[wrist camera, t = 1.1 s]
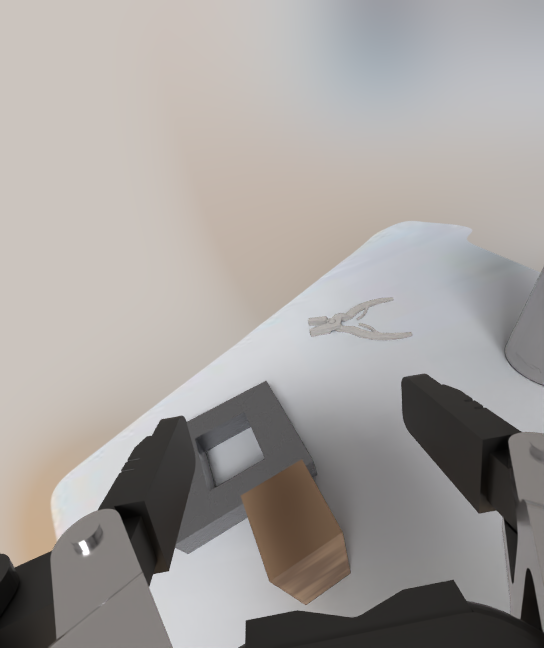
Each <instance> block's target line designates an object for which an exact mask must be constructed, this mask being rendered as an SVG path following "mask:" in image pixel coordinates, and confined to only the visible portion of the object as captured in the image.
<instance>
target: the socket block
mask: <svg viewBox="0 0 544 648" xmlns="http://www.w3.org/2000/svg"><path fill="white" fill-rule="evenodd" d="M187 426H188V430H189V433H190V437H191V441H192V444H193V448H194V452H195V459H196V465H195V472H194V476H193V480H192V484H191V488H190V491H189V495H188V499H187V503H186V507H185V511H184V514H183V518H182V522H181V526H180V530H179V534H178V538H177V541H176V545H175V548H177V549H179V550H181V551H183V552H185V553H187V554H189V553H191V552H192V551H194V550H195V549H197V548H199V547H200V546H202V545H204V544H205V543H207V542H208V541H210V540H212V539H213V538H215V537H217V536H218V535H220V534H221V533H223V532H225V531H226V530H228V529H229V528H231V527H233V526H234V525H236V524H238V523H239V522H241V521H242V520H244V519H246V518H247V517H248V516H247V513H246V510H245V507H244V504H243V502H242V499H241V495H243V494H244V493H246V492H248V491H249V490H251V489H253V488H254V487H256V486H258V485H260V484H261V483H263V482H265V481H266V480H268V479H270V478H271V477H273V476H275V475H276V474H278V473H280V472H281V471H283V470H285V469H286V468H288V467H290V466H291V465H293V464H295V463H296V462H298V461H300V460H301V459H302V460H303V462H304V464H305V466H306V467H307V469H308V471H309V473H310V475H311V476H312V477H314V476H315V475H317V472H316V469H315V465H314V462H313V460H312V458H311V456H310V455H309V453H308V451H307V449H306V448H305V446H304V444H303V443H302V441H301V439H300V438H299V436H298V434H297V432H296V431H295V429H294V427H293V426H292V424H291V422H290V421H289V419H288V417H287V415H286V414H285V412H284V410H283V409H282V407H281V405H280V403H279V402H278V400H277V398H276V397H275V395H274V393H273V392H272V390H271V388H270V386H269V385H268V383H267V381H265V382H263V383H261V384H259V385H257V386H255V387H253V388H251V389H249V390H247V391H245V392H244V393H242V394H240V395H238V396H236V397H234V398H232V399H230V400H228V401H226V402H224V403H222V404H220V405H219V406H217V407H215V408H213V409H211V410H209V411H207V412H205V413H203V414H201V415H199V416H197V417H196V418H194V419H192V420H190V421H188V422H187ZM249 427H251V428H252V430H253V432H254V435H255V437H256V439H257V441H258V443H259V446H260V448H261V450H262V452H263V455H264V457H265V459H264V460H262V461H261V462H259V463H257V464H255V465H254V466H252V467H250V468H249V469H247V470H245V471H243V472H242V473H240V474H238V475H237V476H235V477H233V478H231V479H230V480H228V481H226V482H224V483H223V484H221V485H219V486H218V487H215V484H214V480H213V477H212V473H211V469H210V466H209V462H208V459H207V455H206V451H207V450H209V449H211V448H213V447H215V446H216V445H218V444H220V443H222V442H224V441H226V440H227V439H229V438H231V437H233V436H235V435H236V434H238V433H240V432H242V431H244V430H246V429H247V428H249Z"/></svg>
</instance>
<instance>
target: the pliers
mask: <svg viewBox="0 0 544 648" xmlns="http://www.w3.org/2000/svg"><path fill="white" fill-rule="evenodd" d="M389 301H393V297H390V298H380V299H374V300H370V301H367V302H364V303H361V304H359V305H357V306H355V307H353V308H352V309H350V310H349V311H348V312H347V313H346V314H345V313H338V314H335V315H334V316H333V317H332V318H330V319H328V318H327V317H326V316H324V317H315V318H309V320H308V322H309V326H318V327H315V328H312V329H310V335H311V337H314V336H319V335H324V334H330V332H331V331H332V330H335V331H337V332H346V333H350V334H353V335H355V336H358V337H361V338H365V339H371V340H396V339H402V338H407V337H410V336H412V332H406V333H380V332H378V331H376V330H375V329H374V328H372V327H371V326H369V325H366V324H362V323H359V326H362V327H366V328H368V329H370V330H371V331H372V332H369V331H366V330H363V329H360V328H357V327H355V326H343V325H342V324H341V320H342V321H347V320H350V319H352V318H353V317H354V316H355V315H357V314H358V313H359V312H360V311H362V310H364V309H365V311H364V313H363V314H362V315H361V316H359V317H358V318H357V320H359V319H361V318H362V317H364V316H365V314H366V313H367V310H368V308H369V307H371V306H374V305H377V304H381V303H385V302H389Z"/></svg>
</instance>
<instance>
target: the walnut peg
mask: <svg viewBox="0 0 544 648" xmlns="http://www.w3.org/2000/svg"><path fill="white" fill-rule="evenodd" d="M241 499H242V502H243V504H244V507H245V510H246V513H247V516H248V519H249V522H250V525H251V528H252V531H253V534H254V537H255V540H256V543H257V546H258V549H259V552H260V555H261V558H262V561H263V564H264V567H265V570H266V572H267V575H268V578H269V581H270V582H271V583H273V584H274V585H276V586H277V587H279V588H280V589H282V590H283V591H285V592H286V593H288V594H289V595H291V596H293V597H294V598H296V599H297V600H299V601H300V602H302V603H303V604H305V605H307V604H308V603H310V602H311V601H312V600H314V599H315V598H317V597H318V596H319V595H321V594H322V593H324V592H325V591H326V590H328V589H329V588H331V587H332V586H333V585H335V584H336V583H338V582H339V581H340V580H342V579H343V578H345V577H346V576H347V575H349V574H350V568H349V563H348V557H347V552H346V547H345V542H344V537H343V532H342V530H341V528H340V527H339V525H338V523H337V521H336V519H335V518H334V516H333V514H332V512H331V510H330V509H329V507H328V505H327V503H326V501H325V500H324V498H323V496H322V494H321V492H320V491H319V489H318V487H317V485H316V483H315V482H314V480H313V478H312V476H311V475H310V473H309V471H308V469H307V467H306V466H305V464H304V462H303V460H302V459H301V460H300V461H298V462H296V463H295V464H293V465H291V466H290V467H288V468H286V469H285V470H283V471H281V472H280V473H278V474H276V475H275V476H273V477H271V478H270V479H268V480H266V481H265V482H263V483H261V484H260V485H258V486H256V487H254V488H253V489H251V490H249V491H248V492H246V493H244V494H243V495H241Z"/></svg>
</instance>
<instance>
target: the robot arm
mask: <svg viewBox="0 0 544 648" xmlns="http://www.w3.org/2000/svg"><path fill="white" fill-rule="evenodd" d="M505 354H506V357H507V360H508V361H509V362H510V364H511V365H512V366H513V367H514V368H515V369H516V370H517V371H518V372H520V373H521V374H522V375H524V376H525V377H527V378H529V379H531V380H533V381H534V382H537V383H539V384H542V385H544V267H543V269H542V272H541V274H540V276H539V278H538V280H537V282H536V284H535V286H534V288H533V290H532V292H531V295H530V297H529V299H528V301H527V303H526V305H525V307H524V309H523V311H522V313H521V315H520V318H519V320H518V322H517V324H516V326H515V328H514V330H513V332H512V334H511V336H510V338H509V340H508V342H507V345H506V347H505ZM401 387H402V413H403V420H404V423H405V426H406V428H407V430H408V431H409V433H410V434H411V435H412V436H413V437H414V438H415V440H416V441H417V442H418V443H419V444H420V445H421V447H422V448H423V449H424V450H425V451H426V452H427V454H428V455H429V456H430V457H431V458H432V459H433V461H434V462H435V463H436V464H437V465H438V466H439V468H440V469H441V470H442V471H443V472H444V473H445V475H446V476H447V477H448V478H449V479H450V480H451V482H452V483H453V484H454V485H455V486H456V487H457V489H458V490H459V491H460V492H461V493H462V494H463V495H464V497H465V498H466V499H467V500H468V501H469V502H470V504H471V505H472V506H473V507H474V508H475V509H476V511H477V512H478V513H479V514H480V513H485V512H490V511H495V510H497V511H498V512H499V513H500V514H501V516H502V532H503V541H504V550H505V559H506V568H507V577H508V586H509V595H510V614H508V613H506V612H503V611H501V610H498V609H495V608H493V607H490V606H487V605H483V604H479V603H475V602H469V601H466V600H465V598H464V596H463V595H462V593H461V592H460V590H459V588H458V587H457V585H456V583H455V582H454V580H450V581H445V582H440V583H435V584H430V585H425V586H420V587H415V588H409V589H404V590H402V591H400V592H399V593H397V594H395V595H394V596H392V597H390V598H389V599H387V600H385V601H384V602H382V603H380V604H379V605H377V606H375V607H374V608H372V609H370V610H369V611H367V612H365V613H364V614H362V615H360V616H358V617H354V618H351V617H342V616H335V615H328V614H320V613H313V612H305V611H298V610H297V611H292V612H287V613H282V614H277V615H272V616H267V617H261V618H256V619H251V620H246V639H245V644H244V645H242V646H240V647H239V648H544V434H541V433H535V432H521V431H519V430H518V429H516V428H515V427H513V426H512V425H510V424H509V423H507V422H506V421H504V420H503V419H502V418H500V417H499V416H497V415H496V414H494V413H493V412H491V411H490V410H488V409H487V408H483V406H482V405H481V404H479V403H478V402H476V401H473V400H472V398H471V397H469V396H468V395H466V394H465V393H463V392H462V391H460V390H458V389H455V388H452V387H450V386H447V385H444V384H443V385H441V384H440V383H438V382H437V381H436V380H434V379H433V378H431V377H430V376H429V375H427V374H419V375H413V376H408V377H404V378H403V379H402V382H401ZM195 465H196V459H195V452H194V448H193V444H192V441H191V437H190V433H189V430H188V426H187V422H186V419H185V417H184V416H178V417H172V418H167V419H162V420H160V422H159V424H158V425H157V427H156V429H155V431H154V433H153V435H152V436H147V437H146V438H145V439H144V440H142V441H141V442H140V443H139V444H138V445H137V446H136V447H135V448H134V450H133V451H132V453H131V455H130V457H129V458H128V462H126V463H125V465H124V467H123V468H122V470H121V471H122V472H121V473H119V475H118V477H117V478H116V480H115V482H114V483H113V485H112V487H111V489H110V490H109V492H108V494H107V495H106V497H105V499H104V500H103V502H102V504H101V505H100V507H99V509H98V510H97V511H95V512H93V513H90V514H88V515H86V516H85V517H83V518H81V519H80V520H78V521H77V522H76V523H74V524H73V525H72V526H71V527H70V528H69V529H67V530H66V532H65V533H64V534H63V535H62V536H61V537H60V538H59V540H58V541H57V543H56V544H55V546H54V549H53V550H52V551H51V552H48V553H46V554H44V555H42V556H39V557H37V558H35V559H33V560H30V561H28V562H26V563H24V564H21V565H20V566H17V567H15V568H14V566H13V564H12V563H11V561H10V559H9V557H8V556H7V555H5V554H0V648H173V647H172V644H171V642H170V639H169V637H168V634H167V632H166V629H165V627H164V624H163V622H162V619H161V617H160V614H159V612H158V609H157V607H156V604H155V602H154V599H153V597H152V594H151V592H150V589H149V586H150V583H151V579H152V576H153V574H156V573H161V572H167V571H169V568H170V564H171V561H172V557H173V553H174V549H175V545H176V541H177V538H178V534H179V530H180V526H181V522H182V518H183V514H184V511H185V507H186V503H187V499H188V495H189V491H190V488H191V484H192V480H193V476H194V472H195Z"/></svg>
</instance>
